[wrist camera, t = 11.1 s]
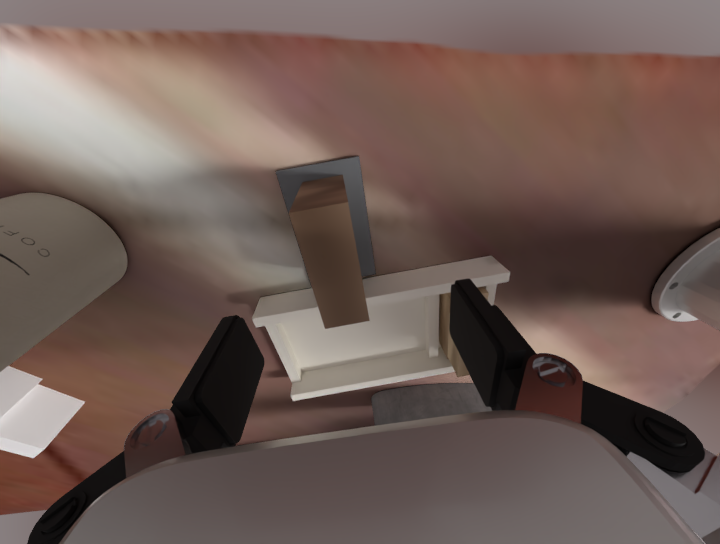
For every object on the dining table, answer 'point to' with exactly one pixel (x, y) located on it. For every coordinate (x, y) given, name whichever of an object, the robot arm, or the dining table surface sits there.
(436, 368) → the rack
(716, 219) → the dining table surface
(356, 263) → the brown wooden block
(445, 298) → the offcut low
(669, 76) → the dining table surface
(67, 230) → the travel mug
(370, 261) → the mat
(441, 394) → the hip flask
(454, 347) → the offcut top
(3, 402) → the napkin holder
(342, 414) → the dining table surface
